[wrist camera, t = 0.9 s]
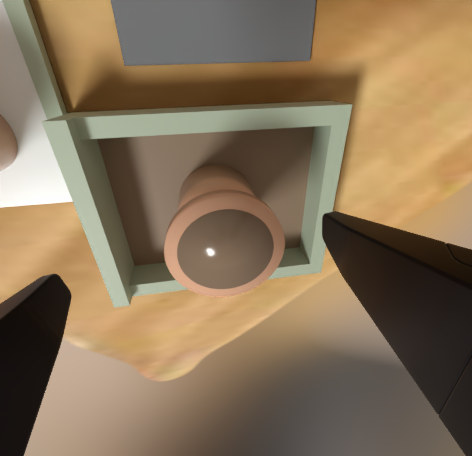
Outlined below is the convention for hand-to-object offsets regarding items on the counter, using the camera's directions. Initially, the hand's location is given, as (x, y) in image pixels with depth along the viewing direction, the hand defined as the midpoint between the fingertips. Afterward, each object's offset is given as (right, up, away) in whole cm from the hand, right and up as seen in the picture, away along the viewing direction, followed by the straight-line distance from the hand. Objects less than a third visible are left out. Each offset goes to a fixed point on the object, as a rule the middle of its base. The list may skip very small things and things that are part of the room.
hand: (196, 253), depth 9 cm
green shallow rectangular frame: (0, +3, +13) cm, 13 cm away
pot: (0, +3, +12) cm, 13 cm away
